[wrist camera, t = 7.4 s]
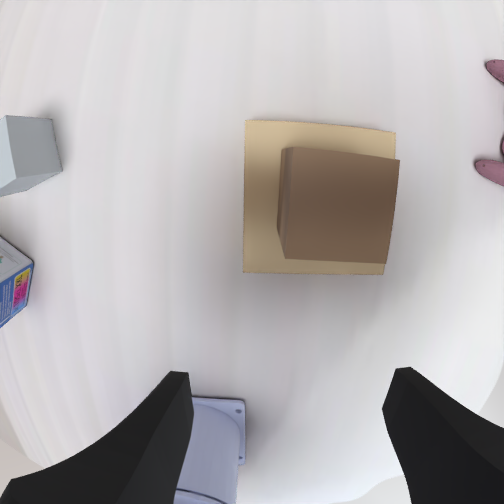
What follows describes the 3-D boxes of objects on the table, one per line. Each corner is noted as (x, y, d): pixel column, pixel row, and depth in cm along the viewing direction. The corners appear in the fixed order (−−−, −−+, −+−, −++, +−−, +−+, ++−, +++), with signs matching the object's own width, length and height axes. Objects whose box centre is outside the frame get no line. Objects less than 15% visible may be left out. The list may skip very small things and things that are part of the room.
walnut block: (350, 232, 16) (385, 263, 11) (276, 227, 16) (284, 258, 11) (358, 157, 15) (399, 160, 10) (281, 149, 15) (293, 146, 10)
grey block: (62, 171, 18) (16, 178, 13) (26, 190, 18) (-19, 201, 13) (51, 119, 17) (5, 115, 12) (16, 142, 17) (-30, 144, 12)
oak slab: (366, 258, 20) (383, 274, 17) (245, 255, 20) (243, 272, 17) (376, 136, 17) (395, 132, 14) (247, 126, 17) (245, 120, 14)
